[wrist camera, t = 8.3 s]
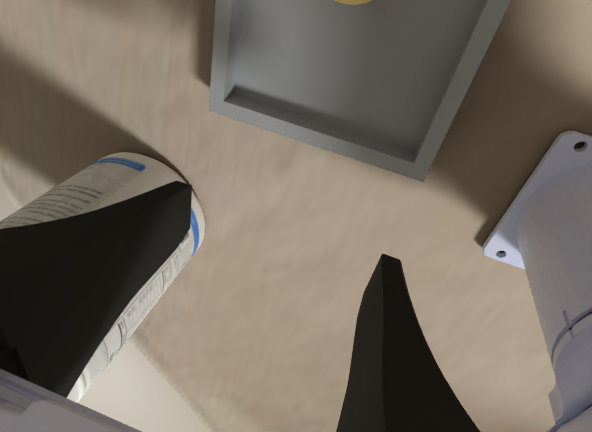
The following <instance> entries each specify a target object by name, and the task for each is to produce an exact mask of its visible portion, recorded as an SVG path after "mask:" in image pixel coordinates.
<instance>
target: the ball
mask: <svg viewBox="0 0 592 432" xmlns="http://www.w3.org/2000/svg"><path fill="white" fill-rule="evenodd" d="M334 1H337V2H340V3H343V4H350V5H357V4H363V3H367V2H370V1H372V0H334Z"/></svg>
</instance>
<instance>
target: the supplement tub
mask: <svg viewBox="0 0 592 432" xmlns="http://www.w3.org/2000/svg"><path fill="white" fill-rule="evenodd" d="M174 181H180V182H183V183H186V182H185V181H184V180H183V179H182V178H181V177H180V176H179V175H178V174H177V173H176V172H175V171H173V170H172V169H171V168H169V167H168V166H166V165H165V164H163V163H161V162H159V161H157V160H155V159H153V158H150V157H147V156H144V155H141V154H137V153H129V152H120V153H114V154H110V155H107V156H105V157H103V158H101V159H99V160H98V161H96V162H94V163H93V164H91V165H89V166H88V167H86V168H85V169H83V170H81V171H80V172H78V173H77V174H75V175H73V176H72V177H70V178H69V179H67V180H65V181H64V182H62V183H61V184H59V185H58V186H56V187H54V188H53V189H51V190H50V191H48V192H46V193H45V194H43V195H42V196H40V197H38V198H37V199H35V200H34V201H32V202H31V203H29V204H27V205H26V206H24V207H23V208H21V209H19V210H18V211H16V212H15V213H13V214H11V215H10V216H8V217H7V218H5V219H3V220H2V221H0V229H2V228H10V227H18V226H25V225H31V224H37V223H42V222H47V221H53V220H58V219H63V218H67V217H71V216H75V215H79V214H83V213H87V212H90V211H94V210H97V209H100V208H103V207H106V206H109V205H112V204H115V203H118V202H121V201H124V200H127V199H129V198H132V197H135V196H137V195H140V194H142V193H145V192H148V191H150V190H153V189H155V188H158V187H160V186H163V185H165V184H168V183H171V182H174ZM186 184H187V183H186ZM204 231H205V221H204V215H203V211H202V208H201V206H200V204H199V201H198V199H197V198H196V196H195V194H194V192H193V191H192V199H191V224H190V229H189V231H188V233H187V234H186V236H185V237H184V239H183V240H182V242H181V243H180V245H179V246H178V247H177V249H176V250H175V251H174V252H173V254H172V255H171V256H170V257H169V258H168V259H167V260H166V261H165V263H164V264H163V265H162V266H161V267H160V268H159V269H158V270H157V271H156V273H155V274H154V275H153V276H152V277H151V278H150V279H149V280H148V281H147V282H146V284H145V285H144V286H143V287H142V288H141V289H140V290H139V291H138V293H137V294H136V295H135V296H134V297H133V299H132V300H131V301H130V302H129V304H128V305H127V307H126V308H125V309H124V311H123V312H122V313H121V315H120V316H119V318H118V319H117V320H116V322H115V323H114V325H113V326H112V328H111V329H110V330H109V332H108V333H107V335H106V336H105V338H104V339H103V341H102V342H101V344H100V345H99V347H98V348H97V350H96V351H95V353H94V354H93V356H92V358H91V359H90V361H89V362H88V364H87V365H86V367H85V368H84V370H83V372H82V373H81V375H80V377H79V378H78V380H77V382H76V383H75V385H74V387H73V388H72V390H71V392H70V393H69V395H68V397H67V399H69V400H72V401H74V402H76V403H77V402H78V401H79V400H80V399H81V398H82V397H83V395H84V393H86V392H87V391H88V389H89V388H90V387H91V386H92V384H93V383H94V382H95V380H96V379H97V378H98V377H99V376H100V374H101V373H102V372H103V371H104V369H105V368H106V367H107V366H108V364H109V363H110V362H111V360H112V359H113V358H114V357H115V355H116V354H117V353H118V351H119V350H120V349H121V348H122V346H123V345H124V344H125V343H126V341H127V340H128V339H129V337H130V336H131V335H132V334H133V332H134V331H135V330H136V328H137V327H138V326H139V325H140V323H141V322H142V321H143V319H144V318H145V317H146V315H147V314H148V313H149V312H150V310H151V309H152V308H153V306H154V305H155V304H156V303H157V301H158V300H159V299H160V298H161V296H162V295H163V294H164V292H165V291H166V290H167V288H168V287H169V286H170V285H171V283H172V282H173V281H174V279H175V278H176V277H177V276H178V274H179V273H180V272H181V270H182V269H183V268H184V266H185V265H186V264H187V263H188V261H189V260H190V259H191V257H192V256H193V255H194V253H195V252H196V251H197V250H198V248H199V246H200V245H201V243H202V240H203V237H204Z"/></svg>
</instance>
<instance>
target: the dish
mask: <svg viewBox="0 0 592 432" xmlns="http://www.w3.org/2000/svg"><path fill="white" fill-rule="evenodd" d="M510 2H511V0H372V1H370V2H367V3H363V4H357V5H350V4H343V3H340V2H337V1H334V0H216V3H215V19H214V35H213V51H212V67H211V83H210V99H209V111H211V112H214V113H217V114H220V115H223V116H226V117H229V118H232V119H235V120H238V121H241V122H244V123H247V124H250V125H253V126H256V127H259V128H262V129H265V130H268V131H271V132H274V133H277V134H280V135H283V136H286V137H289V138H292V139H295V140H298V141H301V142H305V143H308V144H311V145H314V146H317V147H320V148H323V149H326V150H329V151H332V152H335V153H338V154H341V155H344V156H347V157H350V158H353V159H356V160H359V161H362V162H365V163H368V164H371V165H374V166H377V167H380V168H383V169H386V170H389V171H392V172H395V173H398V174H401V175H404V176H407V177H410V178H413V179H416V180H419V181H422V182H423V181H424V179H425V177H426V175H427V173H428V171H429V169H430V167H431V165H432V163H433V160H434V158H435V156H436V154H437V152H438V150H439V148H440V146H441V144H442V142H443V140H444V138H445V136H446V134H447V132H448V130H449V128H450V126H451V123H452V121H453V119H454V117H455V115H456V113H457V111H458V109H459V107H460V105H461V103H462V101H463V99H464V97H465V95H466V93H467V91H468V88H469V86H470V84H471V82H472V80H473V78H474V76H475V74H476V72H477V70H478V68H479V66H480V64H481V62H482V60H483V58H484V56H485V54H486V51H487V49H488V47H489V45H490V43H491V41H492V39H493V37H494V35H495V33H496V31H497V29H498V27H499V25H500V23H501V21H502V19H503V16H504V14H505V12H506V10H507V8H508V6H509V4H510Z"/></svg>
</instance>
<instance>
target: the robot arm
mask: <svg viewBox="0 0 592 432" xmlns="http://www.w3.org/2000/svg"><path fill="white" fill-rule="evenodd" d="M581 141H582V142H585V144H584V146H583V147H582V148H579V149H575V148H574V146H575V144H577V143H578V142H581ZM191 199H192V186H191V185H189V184H186V183H183V182H180V181H174V182H171V183H168V184H165V185H163V186H160V187H158V188H155V189H153V190H150V191H148V192H145V193H142V194H140V195H137V196H135V197H132V198H129V199H127V200H124V201H121V202H118V203H115V204H112V205H109V206H106V207H103V208H100V209H97V210H94V211H90V212H87V213H83V214H79V215H75V216H71V217H67V218H63V219H58V220H53V221H47V222H42V223H37V224H31V225H25V226H18V227H10V228H2V229H0V432H141V431H139V430H137V429H134V428H132V427H130V426H128V425H125V424H123V423H121V422H119V421H116V420H114V419H112V418H110V417H107V416H105V415H103V414H101V413H99V412H96V411H94V410H92V409H89V408H87V407H85V406H83V405H80V404H78V403H76V402H74V401H72V400H69V399H67V397H68V395H69V393H70V392H71V390H72V388H73V387H74V385H75V383H76V382H77V380H78V378H79V377H80V375H81V373H82V372H83V370H84V368H85V367H86V365H87V364H88V362H89V361H90V359H91V358H92V356H93V354H94V353H95V351H96V350H97V348H98V347H99V345H100V344H101V342H102V341H103V339H104V338H105V336H106V335H107V333H108V332H109V330H110V329H111V328H112V326H113V325H114V323H115V322H116V320H117V319H118V318H119V316H120V315H121V313H122V312H123V311H124V309H125V308H126V307H127V305H128V304H129V302H130V301H131V300H132V299H133V297H134V296H135V295H136V294H137V293H138V291H139V290H140V289H141V288H142V287H143V286H144V285H145V284H146V282H147V281H148V280H149V279H150V278H151V277H152V276H153V275H154V274H155V273H156V271H157V270H158V269H159V268H160V267H161V266H162V265H163V264H164V263H165V261H166V260H167V259H168V258H169V257H170V256H171V255H172V254H173V252H174V251H175V250H176V249H177V247H178V246H179V245H180V243H181V242H182V240H183V239H184V237H185V236H186V234H187V233H188V231H189V229H190V224H191ZM482 248H483V253H484V255H486V256H487V257H490V258H493V259H496V260H498V261H501V262H504V263H507V264H510V265H513V266H516V267H519V268H522V269H524V270H525V271H526V274H527V278H528V281H529V285H530V288H531V292H532V295H533V299H534V303H535V306H536V310H537V313H538V317H539V320H540V324H541V327H542V331H543V335H544V338H545V342H546V345H547V349H548V352H549V356H550V359H551V363H552V367H553V370H554V374H555V379H556V384H555V387H554V389H553V390H552V391H551V392H550V393H549V395H548V396H549V400H550V404H551V408H552V412H553V416H554V420H555V423H556V425H555V426H553V427H552V428H550V429H549V430H547V431H546V432H592V136H590V135H586V134H583V133H580V132H576V131H565V132H563V133H561V134H560V135H559V136H558V137H557V138H556V139H555V141H554V142H553V144H552V145H551V147H550V148H549V150H548V151H547V153H546V154H545V155H544V157H543V158H542V160H541V161H540V163H539V164H538V166H537V167H536V169H535V170H534V171H533V173H532V174H531V176H530V177H529V179H528V180H527V182H526V183H525V185H524V186H523V188H522V189H521V190H520V192H519V193H518V195H517V196H516V198H515V199H514V201H513V202H512V204H511V205H510V206H509V208H508V209H507V211H506V212H505V214H504V215H503V217H502V218H501V220H500V221H499V223H498V224H497V225H496V227H495V228H494V230H493V231H492V233H491V234H490V236H489V237H488V239H487V240H486V241H485V243H484V244H483V247H482ZM498 251H505V252H504V253H501V254H499V253H497V252H498ZM336 432H480V431H479V429H478V428H477V427H476V425H475V424H474V422H473V421H472V420H471V418H470V417H469V415H468V414H467V412H466V411H465V409H464V408H463V407H462V405H461V404H460V402H459V400H458V399H457V397H456V396H455V394H454V392H453V391H452V389H451V387H450V386H449V384H448V382H447V381H446V379H445V378H444V376H443V374H442V372H441V370H440V368H439V367H438V365H437V363H436V361H435V359H434V357H433V355H432V353H431V351H430V349H429V346H428V344H427V342H426V340H425V337H424V335H423V332H422V330H421V327H420V325H419V322H418V320H417V317H416V314H415V311H414V308H413V305H412V302H411V299H410V296H409V292H408V289H407V285H406V281H405V277H404V273H403V269H402V264H401V261H400V260H399V259H396V258H394V257H391V256H388V255H385V254H382V255H381V257H380V260H379V262H378V264H377V266H376V268H375V270H374V272H373V274H372V277H371V279H370V281H369V283H368V285H367V287H366V289H365V291H364V294H363V298H362V302H361V305H360V309H359V313H358V317H357V323H356V330H355V337H354V344H353V352H352V359H351V366H350V374H349V380H348V385H347V390H346V394H345V398H344V402H343V407H342V411H341V415H340V419H339V423H338V427H337V431H336Z"/></svg>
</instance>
